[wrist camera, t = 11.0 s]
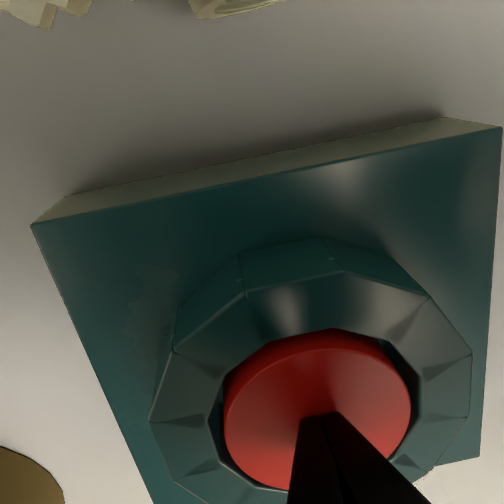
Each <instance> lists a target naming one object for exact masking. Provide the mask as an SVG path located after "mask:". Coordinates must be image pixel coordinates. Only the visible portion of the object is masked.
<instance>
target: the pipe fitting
mask: <svg viewBox="0 0 504 504" xmlns="http://www.w3.org/2000/svg"><path fill="white" fill-rule="evenodd" d="M91 1H92V0H0V8H1V9H2V10H4V11H6V12H7V13H9V14H11V15H13V16H14V17H16V18H18V19H20V20H22V21H24V22H26V23H28V24H31V25H33V26H35V27H38V28H41V29H44V30H48V29H51V26H52V23H53V20H54V17H55V14H56V10H57V8H59V9H61V10H63V11H65V12H68V13H70V14H72V15H75V16H84V15H87V12H88V9H89V6H90V3H91ZM130 1H135V0H130ZM282 1H285V0H188V2H189V4H190V6H191V8H192V10H193V12H194V13H195V15H196V16H197V17H198V18H201V19H210V18H219V17H225V16H230V15H235V14H239V13H243V12H247V11H251V10H255V9H259V8H262V7H266V6H269V5H272V4H276V3H279V2H282Z"/></svg>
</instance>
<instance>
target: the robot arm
mask: <svg viewBox="0 0 504 504" xmlns="http://www.w3.org/2000/svg"><path fill="white" fill-rule="evenodd" d="M286 504H431V503H430V502H429V501H428V500H427V499H426V498H425V497H424V496H423V495H422V494H421V493H420V492H419V491H418V490H417V489H416V488H415V487H414V486H413V485H412V484H411V483H410V482H409V481H408V480H407V479H406V478H405V477H404V476H403V475H402V474H401V473H400V472H399V471H398V470H397V469H396V468H395V467H394V466H393V465H392V464H391V463H390V462H389V461H388V460H387V459H386V458H385V457H384V456H383V455H382V454H381V453H380V452H379V451H378V450H377V449H376V448H375V447H374V446H373V445H372V444H371V443H370V442H369V441H368V440H367V439H366V438H365V437H364V436H363V435H362V434H361V433H360V432H359V431H358V430H357V429H356V428H355V427H354V426H353V425H352V424H351V423H350V422H349V421H348V420H347V419H346V418H345V417H344V416H343V415H342V414H341V413H340V412H339V411H333V412H328V413H324V414H321V415H320V417H319V416H317V415H314V416H309V417H305V418H301V419H300V422H299V427H298V433H297V440H296V446H295V452H294V458H293V465H292V471H291V477H290V484H289V490H288V496H287V502H286Z"/></svg>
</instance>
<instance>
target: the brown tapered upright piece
mask: <svg viewBox="0 0 504 504" xmlns="http://www.w3.org/2000/svg"><path fill="white" fill-rule="evenodd" d="M0 504H65V503H64V498H63V492H62V490H61V489H60V487H59V486H58V485H57V483H56V482H55V480H54V479H53V477H52V476H51V474H49V473H48V472H47V471H45V470H44V469H43V468H41V467H40V466H39V465H37V464H36V463H35V462H33V461H32V460H31V459H29V458H26V457H24V456H21V455H19V454H16V453H14V452H12V451H9V450H7V449H4V448H0Z"/></svg>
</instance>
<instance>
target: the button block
mask: <svg viewBox="0 0 504 504" xmlns="http://www.w3.org/2000/svg"><path fill="white" fill-rule="evenodd" d="M502 134H503V128H502V127H501V126H495V125H489V124H483V123H477V122H471V121H465V120H459V119H453V118H447V117H445V118H440V119H435V120H431V121H426V122H421V123H416V124H411V125H406V126H402V127H397V128H392V129H387V130H382V131H377V132H373V133H368V134H363V135H358V136H353V137H348V138H344V139H339V140H334V141H329V142H324V143H320V144H315V145H310V146H305V147H300V148H295V149H291V150H286V151H281V152H276V153H271V154H266V155H262V156H257V157H252V158H247V159H242V160H237V161H233V162H228V163H223V164H218V165H213V166H208V167H204V168H199V169H194V170H189V171H184V172H180V173H175V174H170V175H165V176H160V177H155V178H151V179H146V180H141V181H136V182H131V183H126V184H122V185H117V186H112V187H107V188H102V189H97V190H93V191H88V192H83V193H78V194H73V195H69V196H65V197H64V198H63V199H61V200H60V201H59V202H58V203H56V204H55V205H54V206H53V207H52V208H50V209H49V210H48V211H47V212H45V213H44V214H43V215H42V216H40V217H39V218H38V219H37V220H35V221H34V222H33V223H32V224H30V228H31V230H32V232H33V234H34V237H35V239H36V241H37V243H38V246H39V248H40V250H41V252H42V255H43V257H44V259H45V261H46V264H47V266H48V268H49V270H50V272H51V275H52V277H53V279H54V281H55V284H56V286H57V288H58V290H59V293H60V295H61V297H62V299H63V302H64V304H65V306H66V308H67V311H68V313H69V315H70V317H71V320H72V322H73V324H74V326H75V329H76V331H77V333H78V335H79V338H80V340H81V342H82V344H83V346H84V349H85V351H86V353H87V355H88V358H89V360H90V362H91V364H92V367H93V369H94V371H95V373H96V376H97V378H98V380H99V382H100V385H101V387H102V389H103V391H104V394H105V396H106V398H107V400H108V403H109V405H110V407H111V409H112V411H113V414H114V416H115V418H116V420H117V423H118V425H119V427H120V429H121V432H122V434H123V436H124V438H125V441H126V443H127V445H128V447H129V450H130V452H131V454H132V456H133V459H134V461H135V463H136V465H137V468H138V470H139V472H140V474H141V477H142V479H143V481H144V483H145V485H146V488H147V490H148V492H149V494H150V497H151V499H152V501H153V503H154V504H286V502H287V496H288V490H285V489H280V488H275V487H272V486H269V485H266V484H264V483H261V482H259V481H257V480H255V479H254V478H252V477H250V476H249V475H248V474H246V473H245V472H244V471H243V470H242V469H241V468H240V467H239V466H238V465H237V464H236V463H235V461H234V460H233V458H232V456H231V455H230V453H229V451H228V448H227V446H226V441H225V437H224V411H223V381H224V378H225V376H226V374H228V373H229V372H230V371H232V370H233V369H234V368H235V367H237V366H238V365H239V364H241V363H242V362H243V361H245V360H246V359H247V358H249V357H250V356H251V355H253V354H254V353H255V352H257V351H258V350H259V349H260V348H262V347H263V346H264V345H266V344H267V343H268V342H270V341H272V340H277V339H282V338H286V337H291V336H296V335H301V334H305V333H310V332H315V331H320V330H324V329H329V328H338V329H342V330H345V331H349V332H353V333H357V334H361V335H365V336H369V337H373V338H377V340H378V341H379V343H380V344H381V346H382V348H383V349H384V351H385V352H386V354H387V355H388V357H389V359H390V360H391V362H392V363H393V365H394V366H395V368H396V370H397V371H398V373H399V374H400V376H401V378H402V379H403V381H404V383H405V385H406V387H407V389H408V393H409V396H410V403H411V413H410V420H409V424H408V427H407V430H406V432H405V435H404V436H403V438H402V440H401V442H400V443H399V445H398V446H397V447H396V449H395V450H394V451H393V452H392V453H391V455H390V456H389V457H388V458H387V460H388V461H389V462H390V463H391V464H392V465H393V466H394V467H395V468H396V469H397V470H398V471H399V472H400V473H401V474H402V475H403V476H404V477H405V478H406V479H407V480H408V481H409V482H410V483H413V482H415V481H416V480H418V479H420V478H421V477H423V476H425V475H426V474H427V473H428V471H431V470H432V469H433V468H434V466H439V465H443V464H448V463H453V462H457V461H462V460H466V459H471V458H476V457H479V455H480V441H481V427H482V413H483V399H484V385H485V371H486V357H487V343H488V329H489V315H490V302H491V288H492V274H493V260H494V246H495V232H496V218H497V204H498V190H499V176H500V162H501V148H502Z"/></svg>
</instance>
